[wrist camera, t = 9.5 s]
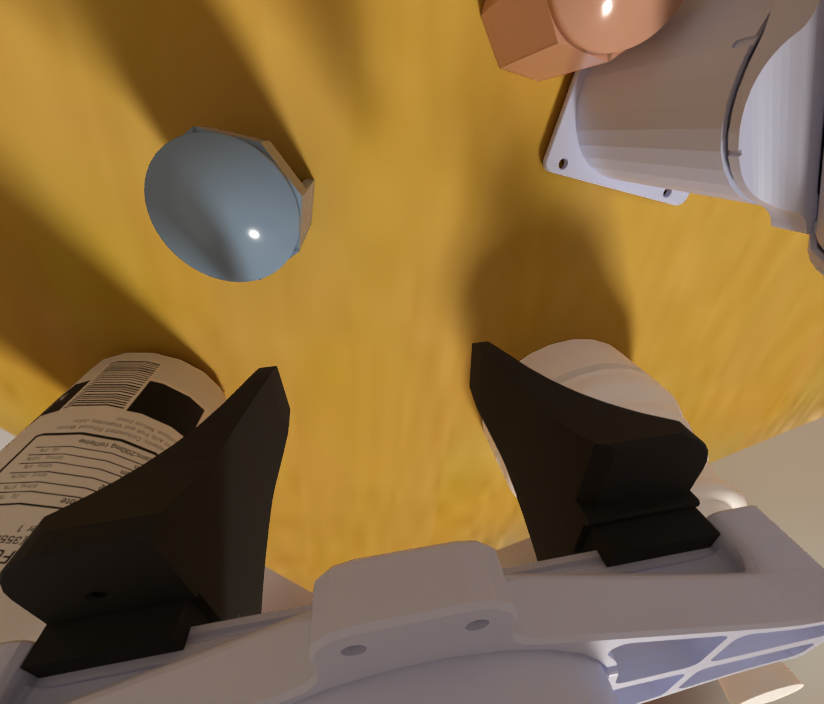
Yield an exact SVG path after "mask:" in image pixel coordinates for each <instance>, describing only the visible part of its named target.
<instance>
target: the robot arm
mask: <svg viewBox="0 0 824 704" xmlns="http://www.w3.org/2000/svg"><path fill="white" fill-rule="evenodd" d="M561 159H564V165H563V167H562V168H559V166H558V165H559V162H560V160H561ZM543 167H544V169H545V170H546V171H548V172H551V173H555V174H559V175H563V176H566V177H570V178H574V179H578V180H581V181H585V182H589V183H593V184H596V185H600V186H604V187H608V188H611V189H615V190H619V191H623V192H626V193H630V194H634V195H638V196H641V197H645V198H649V199H653V200H656V201H660V202H664V203H668V204H672V205H680V204H682V203H683V202H684V201H685V200H686V199H687V197H688V195H689V194H690V193H694V194H700V195H706V196H711V197H717V198H723V199H729V200H734V201H740V202H746V203H752V204H757V205H761V206H763V207H764V208H766V210H767V211H768V212H769V214H770V217H771V225H772V226H773V227H778V228H782V229H787V230H791V231H796V232H801V233H805V234H809V241H808V249H807V250H808V254H809V259H810V261H811V262H812V264H813V265H814V267H815V268H816V270H817V271H819V272H820V273H821V274H822V275H823V276H824V0H684V1H683V3H682V4H681V5H680V7H679V8H678V10H677V11H676V12H675V13H674V15H673V16H672V17H671V18H670V19H669V20H668V22H667V23H666V24H665V25H664V26H663V27H662V28H661V29H660V30H658V31H657V32H656V33H655V34H653V35H652V36H651V37H650V38H648V39H647V40H645V41H643V42H642V43H640V44H638V45H636V46H634V47H632V48H629V49H626V50H625V51H623V52H622V53H620V54H619V55H618V56H616V57H615V58H614V59H612V60H611V61H609V62H607V63H604V64H600V65H596V66H593V67H589V68H586V69H582V70H578V71H575V74H574V76H573V79H572V82H571V85H570V87H569V90H568V93H567V96H566V99H565V101H564V104H563V107H562V110H561V112H560V115H559V118H558V121H557V123H556V126H555V129H554V132H553V135H552V137H551V140H550V143H549V146H548V148H547V151H546V154H545V157H544V160H543ZM666 189H667V191H666V193H665V195H663V193H664V191H665V190H666ZM470 389H471V392H472V395H473V398H474V401H475V404H476V407H477V409H478V411H479V413H480V415H481V417H482V419H483V421H484V423H485V425H486V427H487V429H488V431H489V433H490V435H491V437H492V439H493V441H494V443H495V445H496V447H497V449H498V451H499V453H500V455H501V457H502V459H503V462H504V464H505V466H506V469H507V472H508V474H509V477H510V480H511V482H512V485H513V488H514V490H515V493H516V496H517V499H518V502H519V505H520V507H521V510H522V513H523V516H524V519H525V522H526V525H527V529H528V532H529V535H530V538H531V541H532V544H533V547H534V550H535V554H536V557H537V560H538V561H537V562H532V563H527V564H521V565H516V566H511V567H506V568H501V566H500V563H499V560H498V557H497V554H496V551H495V549H494V548H492V547H490V546H488V545H485V544H483V543H481V542H478V541H454V542H448V543H442V544H437V545H431V546H426V547H420V548H414V549H409V550H403V551H397V552H392V553H386V554H381V555H375V556H369V557H364V558H358V559H353V560H350V561H347V562H344V563H341V564H338V565H335V566H332V567H331V568H330V569H329V570H328V571H326V572H325V573H324V574H323V575H321V576H320V577H319V578H318V579H317V580H316V581H315V584H314V591H313V600H312V601H313V602H312V604H309V605H304V606H299V607H294V608H288V609H283V610H278V611H273V612H267V613H262V614H261V609H262V592H263V580H264V569H265V557H266V548H267V539H268V530H269V522H270V514H271V506H272V499H273V494H274V489H275V485H276V481H277V477H278V473H279V469H280V465H281V461H282V457H283V452H284V448H285V444H286V440H287V435H288V428H289V417H290V407H289V404H288V401H287V397H286V394H285V391H284V388H283V384H282V381H281V378H280V375H279V371H278V368H277V366H273V367H264V368H259V369H258V370H257V371H255V372H254V373H253V374H252V375H251V376H250V377H249V378H248V379H247V380H246V381H245V382H244V383H243V384H242V385H241V386H240V387H239V388H238V389H237V390H236V391H235V392H234V393H233V394H232V395H231V396H230V397H229V398H228V399H227V400H226V401H225V402H224V403H223V404H222V405H221V406H220V407H219V408H217V409H216V410H215V411H214V412H213V413H212V414H211V415H210V416H209V417H207V418H206V419H205V420H204V421H203V422H202V423H201V424H199V425H198V426H197V427H196V428H194V429H193V430H192V431H191V432H189V433H188V434H187V435H185V436H184V437H183V438H181V439H180V440H179V441H177V442H176V443H175V444H173V445H172V446H170V447H169V448H167V449H166V450H164V451H163V452H161V453H160V454H158V455H157V456H155V457H154V458H152V459H151V460H149V461H148V462H146V463H145V464H143V465H142V466H140V467H138V468H137V469H135V470H133V471H132V472H130V473H128V474H126V475H125V476H123V477H121V478H120V479H118V480H116V481H114V482H112V483H111V484H109V485H107V486H105V487H103V488H101V489H100V490H98V491H96V492H94V493H92V494H90V495H88V496H86V497H84V498H82V499H80V500H78V501H76V502H74V503H72V504H70V505H68V506H66V507H64V508H62V509H60V510H58V511H56V512H53V513H51V514H49V515H47V516H45V517H44V518H43V519H42V520H41V521H40V523H39V524H38V525H37V526H36V528H35V529H34V530H33V531H32V533H31V534H30V535H29V536H28V538H27V539H26V540H25V541H24V543H23V544H22V545H21V546H20V548H19V549H18V550H17V552H16V553H15V554H14V555H13V557H12V558H11V559H10V560H9V562H8V563H7V564H6V565H5V567H4V568H3V569H2V570H1V572H0V585H1V588H2V591H3V593H4V594H5V595H7V596H8V597H9V598H10V599H11V600H12V601H13V602H15V603H16V604H18V605H19V606H21V607H22V608H24V609H25V610H27V611H28V612H29V613H31V614H32V615H34V616H35V617H37V618H38V619H40V620H41V621H43V622H44V623H45V624H47V625H46V626H45V628H44V629H43V631H42V633H41V634H40V636H39V638H38V639H37V641H36V642H35V641H30V640H14V641H8V642H3V643H0V704H641V703H644V702H647V701H651V700H654V699H657V698H660V697H663V696H666V695H669V694H672V693H676V692H679V691H682V690H685V689H688V688H691V687H694V686H697V685H701V684H704V683H707V682H710V681H713V680H717V679H720V678H723V677H727V676H730V675H733V674H736V673H740V672H743V671H747V670H751V669H754V668H758V667H761V666H765V665H769V664H773V663H776V662H780V661H784V660H788V659H792V658H796V657H800V656H802V655H804V654H805V653H807V652H809V651H810V650H812V649H813V648H815V647H816V646H818V645H819V644H821V643H822V642H824V568H823V567H822V566H821V565H819V564H818V563H817V562H816V561H815V560H814V559H813V558H812V557H810V555H808V554H807V553H806V552H805V551H804V550H803V549H802V548H801V547H800V546H799V545H798V544H796V543H795V542H794V541H793V540H792V539H791V538H790V537H789V536H788V535H787V534H786V533H785V532H783V531H782V530H781V529H780V528H779V527H778V526H777V525H776V524H775V523H774V522H773V521H771V520H770V519H769V518H768V517H767V516H766V515H765V514H764V513H763V512H762V511H761V510H759V509H758V508H757V507H756V506H752V505H750V506H745V507H739V508H734V509H728V510H723V511H718V512H715V513H713V514H711V515H709V516H708V517H707V518H706V517H705V516H704V515H703V514H702V513H701V512H700V511H699V510H698V509H697V508H696V507H698V506H699V505H700V501H699V499H698V498H697V497H696V496H695V495H694V494H693V493H692V492H691V491H690V490H691V488H692V486H693V485H694V483H695V482H696V480H697V478H698V477H699V475H700V474H701V472H702V470H703V469H704V467H705V464H706V462H707V458H708V449H707V447H706V445H705V443H704V442H703V441H701V440H700V439H699V438H698V437H697V436H696V435H695V434H693V433H692V432H691V431H690V430H689V429H688V428H687V427H685V426H684V425H683V424H682V423H681V422H680V421H677V420H672V419H668V418H663V417H658V416H654V415H649V414H645V413H641V412H637V411H633V410H630V409H626V408H623V407H619V406H616V405H613V404H609V403H606V402H603V401H601V400H598V399H595V398H592V397H589V396H587V395H584V394H582V393H579V392H577V391H574V390H572V389H570V388H568V387H565V386H563V385H561V384H559V383H557V382H555V381H553V380H551V379H549V378H547V377H545V376H543V375H541V374H540V373H538V372H536V371H534V370H533V369H531V368H529V367H528V366H526V365H524V364H523V363H521V362H519V361H518V360H516V359H515V358H513V357H512V356H510V355H509V354H507V353H505V352H504V351H502V350H501V349H499V348H498V347H496V346H495V345H493V344H491V343H490V342H479V343H472V355H471V372H470Z"/></svg>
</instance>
